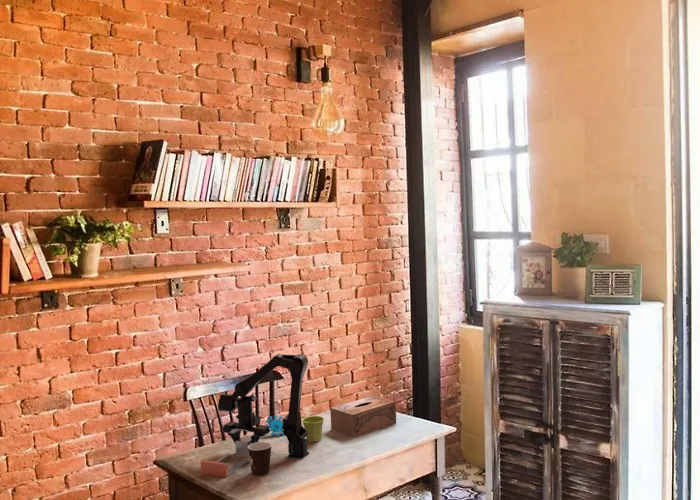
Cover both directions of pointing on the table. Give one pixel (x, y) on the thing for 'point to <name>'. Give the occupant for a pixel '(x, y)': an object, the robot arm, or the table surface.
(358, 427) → the tissue box cover
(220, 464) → the channel
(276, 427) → the blue spiky piece
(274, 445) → the table surface
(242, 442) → the metal box with button
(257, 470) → the coffee mug
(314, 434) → the plant pot
